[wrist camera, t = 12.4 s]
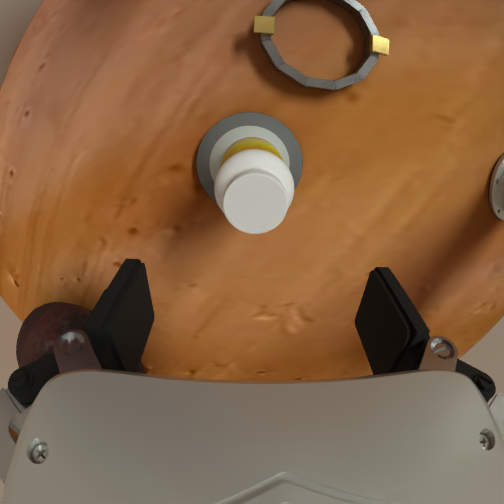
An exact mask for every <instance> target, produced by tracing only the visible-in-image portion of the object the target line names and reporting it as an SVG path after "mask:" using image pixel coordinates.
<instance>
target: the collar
mask: <svg viewBox="0 0 504 504" xmlns="http://www.w3.org/2000/svg"><path fill="white" fill-rule="evenodd" d="M291 1H294V0H273V1H272V2H271V4H270V5H269V6H268V7H267V8H266V9H265V11H264V12H263V14H262V16H255V18H254V34H260V35H261V38H260V43H261V46H262V48H263V50H264V51H265V53H266V55H267V57H268V58H269V60H270V62H271V64H272V65H273V67H274V69H275V68H277V69H276V71H278V72H280V73H281V74H283V75H284V76H286V77H287V78H289V79H291V80H292V81H294V82H295V83H297V84H298V85H300V86H302V87H310V88H317V89H324V90H338V89H340V88H343V87H346V86H348V85H351V84H354V83H357V82H360V81H362V80H363V79H364V78H365V77H366V75H367V74H368V73H369V71H370V70H371V69H372V67H373V66H374V65H375V63H376V62H377V61H378V60H377V59H378V55H379V54H381V55H384V56H386V55H389V39H386V38H383V37H379V34H377V33H379V32H378V30H377V28H376V26H375V24H374V23H373V21H372V19H371V17H370V15H369V13H368V12H367V10H366V9H364V8H365V7H363V6H362V5H361V4H359V3H358V2H357V1H355V0H331V1H334V2H335V3H337V4H338V5H340V6H341V7H342V8H344V9H345V10H347V11H348V12H349V13H351V14H352V15H353V16H354V17H355V19H356V21H357V23H358V25H359V26H360V28H361V30H362V32H363V34H364V36H365V39H364V58H363V59H362V60H361V62H360V63H359V64H358V66H357V67H356V68H355V70H354V71H353V72H352V74H350V75H347V76H345V77H342V78H339V79H336V80H333V81H330V80H324V79H317V78H310V77H306V76H305V75H303V74H302V73H300V72H299V71H297V70H296V69H294V68H293V67H291V66H290V65H288V64H287V63H285V62H284V61H283V59H282V57H281V56H280V54H279V52H278V50H277V49H276V47H275V45H274V44H273V42H272V40H271V35H273V34H274V22H275V17H274V16H275V14H276V13H277V12H278V11H279V10H280V8H281V7H282V6H283V5H284V4H285V3H288V2H291Z"/></svg>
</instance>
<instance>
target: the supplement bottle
mask: <svg viewBox="0 0 504 504" xmlns="http://www.w3.org/2000/svg"><path fill="white" fill-rule="evenodd" d="M214 192H215V198H216V201H217V204H218V206H219V207H220V209H221V211H222V212H223V213H224V214H225V216H226V218H227V220H228V221H229V222H230V224H232V225H233V226H234V227H235V228H236V229H238V230H240V231H242V232H245V233H250V234H261V233H265V232H268V231H270V230H272V229H274V228H275V227H277V226H278V225H279V224H280V223H281V222H282V220H283V219H284V217H285V215H286V212H287V209H288V208H289V206H290V204H291V202H292V199H293V195H294V181H293V177H292V174H291V172H290V170H289V168H288V167H287V165H286V163H285V162H284V160H283V158H282V156H281V155H280V153H279V151H278V150H277V148H276V147H275V146H274V145H273V144H272V143H270V142H269V141H267V140H265V139H263V138H259V137H245V138H242V139H239V140H237V141H236V142H234V143H233V144H232V145H231V146H230V147H229V148H228V149H227V151H226V152H225V154H224V156H223V159H222V162H221V165H220V167H219V170H218V173H217V176H216V179H215V184H214Z"/></svg>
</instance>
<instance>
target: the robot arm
mask: <svg viewBox="0 0 504 504" xmlns="http://www.w3.org/2000/svg"><path fill="white" fill-rule="evenodd" d="M489 197H490V205H491V208H492V211H493V212H494V214H495V215H496V216H497V217H498V218H500V219H501V220H504V154H503V155H502V156H501V158H500V159H499V161H498V162H497V164H496V166H495V168H494V171H493V173H492V177H491V181H490V190H489ZM153 321H154V310H153V305H152V300H151V295H150V290H149V285H148V279H147V274H146V268H145V264H144V263H141V261H140V260H139V259H126V260H125V261H124V262H123V264H122V266H121V267H120V269H119V270H118V272H117V274H116V275H115V277H114V278H113V280H112V282H111V283H110V285H109V286H108V288H107V289H106V290H105V291H104V292H103V294H102V296H101V297H100V299H99V301H98V302H97V304H96V306H95V307H94V309H93V311H92V313H91V314H90V316H89V318H88V320H87V322H86V323H85V325H84V327H83V329H82V330H78V329H71V330H67V331H65V332H63V333H61V334H60V335H59V336H58V337H57V338H56V340H55V341H54V345H53V350H54V352H52V353H50V354H48V355H46V356H44V357H42V358H40V359H38V360H35V361H33V362H31V363H29V364H27V365H25V366H23V367H21V368H19V369H17V370H15V371H14V372H13V373H12V374H11V376H10V378H9V382H8V388H7V389H6V390H5V389H4V388H2V389H1V390H0V478H1V479H2V481H3V483H4V484H5V487H4V491H3V497H2V503H1V504H504V396H503V395H502V394H501V393H500V392H498V393H497V394H496V393H495V390H496V389H495V388H496V387H495V384H494V382H493V380H492V379H491V377H490V376H488V375H487V374H486V373H484V372H482V371H480V370H478V369H476V368H474V367H472V366H470V365H469V364H467V363H465V362H463V361H461V360H459V359H457V358H458V350H457V348H456V346H455V344H454V343H453V342H452V341H451V340H449V339H448V338H446V337H443V336H433V337H431V338H430V336H429V334H428V333H429V332H430V331H429V329H428V327H427V326H426V324H425V323H424V321H423V319H422V318H421V316H420V314H419V313H418V311H417V310H416V308H415V306H414V305H413V303H412V302H411V300H410V299H409V297H408V295H407V294H406V292H405V291H404V289H403V288H402V286H401V285H400V283H399V282H398V280H397V279H396V277H395V276H394V274H393V273H392V272H391V270H390V269H389V268H388V267H376V268H375V269H374V270H372V271H371V272H370V274H369V278H368V281H367V284H366V287H365V291H364V294H363V297H362V300H361V303H360V306H359V309H358V312H357V315H356V318H355V326H356V329H357V331H358V334H359V336H360V339H361V342H362V344H363V347H364V350H365V352H366V355H367V358H368V361H369V363H370V366H371V369H372V372H373V375H369V376H360V377H349V378H337V379H321V380H300V381H233V380H211V379H195V378H183V377H172V376H162V375H152V374H144V373H137V370H138V367H139V364H140V360H141V357H142V354H143V351H144V348H145V345H146V342H147V339H148V336H149V333H150V330H151V327H152V324H153Z"/></svg>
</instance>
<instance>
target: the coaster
mask: <svg viewBox="0 0 504 504" xmlns="http://www.w3.org/2000/svg"><path fill="white" fill-rule="evenodd" d="M245 137H259V138H263V139H265V140H267V141H269V142H270V143H272V144H273V145H274V146H275V147H276V148H277V150H278V151H279V153H280V155H281V156H282V158H283V160H284V162H285V163H286V165H287V167H288V168H289V170H290V172H291V174H292V177H293V181H294V190H295V188H296V187H297V184H298V182H299V180H300V177H301V173H302V162H303V161H302V153H301V149H300V146H299V144H298V141H297V140H296V138H295V136H294V135H293V134H292V132H291V131H290V130H289V129H288V128H287V127H286V126H285V125H284V124H282V123H281V122H280V121H278V120H276V119H275V118H273V117H271V116H268V115H265V114H261V113H255V112H244V113H238V114H234V115H231V116H229V117H226V118H224V119H223V120H221V121H219V122H218V123H217V124H215V125H214V126H213V127H212V128H211V129H210V130H209V131H208V132H207V134H206V135H205V137H204V138H203V140H202V142H201V144H200V147H199V149H198V154H197V162H196V165H197V173H198V177H199V180H200V183H201V185H202V187H203V189H204V190H205V191H206V193H207V194H208V195H209V196H210V198H211V199H212V200H214V201H215V202H216V203H217V201H216V198H215V192H214V184H215V179H216V176H217V173H218V170H219V167H220V165H221V162H222V159H223V156H224V154H225V152H226V151H227V149H228V148H229V147H230V146H231V145H232V144H233V143H234V142H236V141H237V140H239V139H242V138H245Z"/></svg>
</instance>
